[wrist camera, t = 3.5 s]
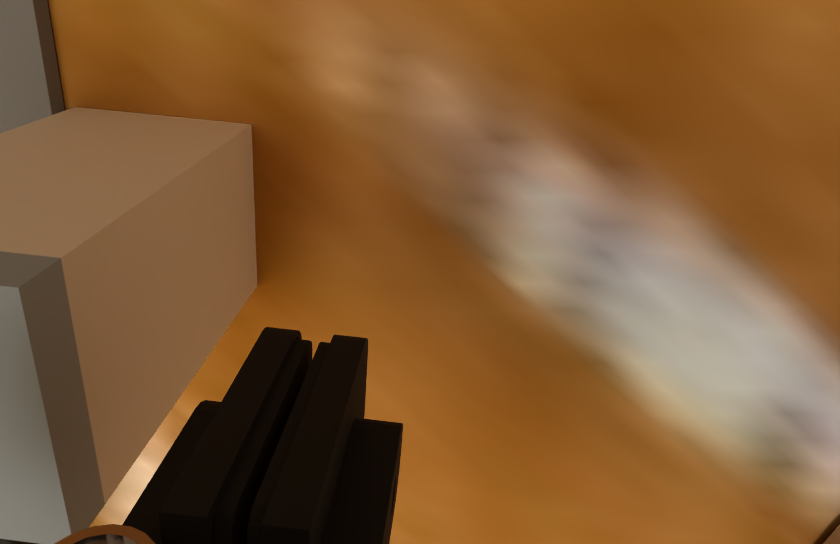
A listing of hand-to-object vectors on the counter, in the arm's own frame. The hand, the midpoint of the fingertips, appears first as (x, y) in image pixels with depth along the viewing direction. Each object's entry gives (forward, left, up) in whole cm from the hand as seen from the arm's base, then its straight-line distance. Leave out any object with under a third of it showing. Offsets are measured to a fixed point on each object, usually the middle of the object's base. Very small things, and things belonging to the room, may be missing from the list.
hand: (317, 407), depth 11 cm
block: (+6, 0, -9) cm, 11 cm away
